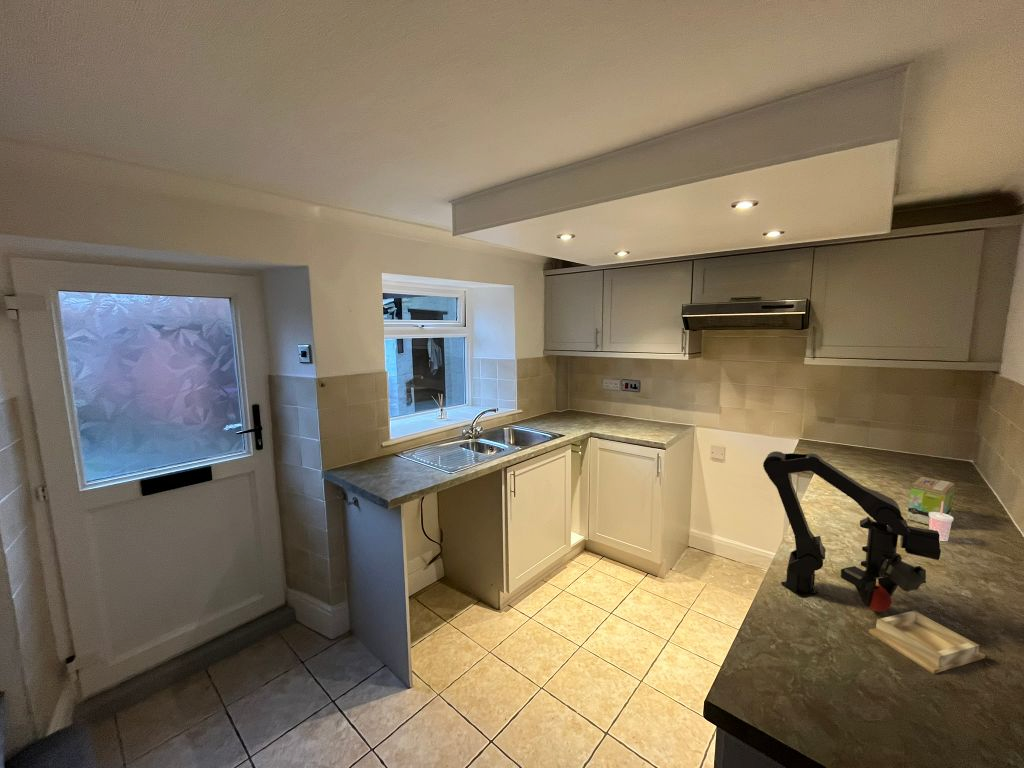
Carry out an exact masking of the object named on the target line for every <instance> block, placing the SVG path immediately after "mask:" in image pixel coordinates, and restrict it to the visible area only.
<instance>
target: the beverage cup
mask: <svg viewBox="0 0 1024 768" xmlns="http://www.w3.org/2000/svg"><path fill="white" fill-rule="evenodd" d="M943 503H944V502H943V501H942V503H941V511H940V513H939V512H929V516H930V519H929V526H928V527H929V529H930V530H936V531H938V532H939V534H940V536H939V541H949V538H950V537H949V536H950V534H951V533H950V531H951V527H952V522H954V516H952V515H951V516H950V515H947V514H944V513H942V511H943Z"/></svg>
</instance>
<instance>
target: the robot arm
mask: <svg viewBox="0 0 1024 768" xmlns="http://www.w3.org/2000/svg"><path fill="white" fill-rule="evenodd" d="M762 466H763V467H762V468H763V469H764V472H765V474H766V475H767V477H768V478H769V480H770V481H771V483H772V484H773V485H774V486H775V488H776V489H777V491H778V492H777V493H778V495H779V498H780V502H781V503H782V505H783V508H784V512H785V514H786V516H787V519H788V522H789V524H790V528H791V530H792V533H793V535H794V542H795V550H793V551H790V555H789V559H788V563H787V567H786V568H787V569H786V579H785V581H781V585H782V586H783V587H784V588H786V589H788V590H789V591H791V592H792V593H793V594H795V595H797V596H799V597H800V598H801V597H807V596H812V595H815V594H819V590H817V589H816V588H814V587H815V579H816V574H815V573H816V571H820V570H821V569H822V568H823V566H824V560H826V548H825V546H824V544H823V542H822V537H821V535H817V536H815V535H814V533H812V531H811V529H810V527H809V524H808V521H807V519H806V517H805V516H806V515H805V513H804V511H803V508H802V506H801V502H800V501H799V497H798V495H797V492H796V489H795V487H794V484H793V479H792V478H793V477H792V474H795V473H802V472H812V473H813V474H815V475H817V476H818V477H819V478H821V479H823V480H824V481H825V482H827V483H828V484H830V485H831V486H833V487H834V488H835V489H837V490H839V491H840V492H842V493H843V494H844V495H846V496H847V497H849V498H850V499H852V500H854V502H855V503H857V504H858V506H859V507H861V509H862V510H863V511H864V512H865V513H866V514H867V515H868V516H867V517H866V518H864V519H861V520H859V526H860V528H862V529H866V530H867V529H868V531H867V539H866V542H867V543H866V545H865V546H862V548H861V551H863V552H865V559H864V560H863V561H860V566H862V567H863V568H865V569H864V570H863V569H861V568H859V567H857V566H856V565H853V566H849V567H844V568H841V569H840V578H841V579H842V580H844V581H846V582H848V583H850V584H852V585H854V586H855V588H856V591H857V592H858V593H857V594H858V595H859V597H860V598H861V601H862V604H863V605H864V606H866V608H870V604H871V600H872V596H873V592H874V590H877V589H880V587H878V586H876V582H878V583H879V584H880V585H881V586H882V587H883V588H884V589H885V590H886V591H887V592H888V593H889V595H890V597H892V596H893V594H894V592H895V591H896V590H897V588H898V587H899V589H901V590H902V591H904V592H906V593H907V592H911V591H917V590H918V589H919V588H920V586H921V585H923V584H926V583H927V572H926V570H927V569H925V568H924V567H922V566H921V565H918V566H917V565H916V566H914V565H912V564H909V563H906V562H905V561H902V560H903V557H902V555H901V554H900V553H897V549H898V539H899V536H900V539H899V541H900V542H899V544H900V549H904V552H905V553H906V554H908V555H913V556H917V557H921V558H926V559H931V560H933V561H934V560H935V561H939V560H940V558H941V550H942V549H941V547H940V546H941V543H940V541H939V536H940V534H939V532H938V531H936V530H930V529H927V528H921V527H917V526H911V525H909V524H908V522H907V519H905V518H904V517H903V516H902V511H901V508H900V506H899V504H898V503H897V501H896V500H895V499H894V498H892V497H890V496H888V495H886V494H883V493H882V492H879V491H876V490H873V489H870V488H868V487H866V486H864V485H863V484H861V483H859V482H858V481H857V480H855V479H853V478H852V477H850V476H849V475H847V474H846V473H844V472H843V471H841V470H839V469H838V468H836V467H835V466H833V465H832V464H830V463H829V462H828V461H826V460H824V459H822V457H821V456H819V455H818V454H817V453H812V452H811V453H794V452H793V453H784V452H782V451H772V452H770V453H769V454H767V456H766V458H765V459H764V461H763V463H762Z"/></svg>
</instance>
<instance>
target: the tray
mask: <svg viewBox="0 0 1024 768" xmlns="http://www.w3.org/2000/svg"><path fill="white" fill-rule="evenodd" d="M868 633H869V634H870V635H872V636H873V637H875V638H876V639H878V640H879V641H880V642H883V643H884V644H885V645H887V646H889V647H891V648H892V649H894V650H895V651H897V652H899V653H900V654H901V655H902V656H905V657H906V658H908V659H909V660H911V661H913V662H914V663H916V664H917V665H919V666H921V667H922V668H924V669H925V670H927V671H928V672H930V673H932V674H933V675H934V674H938V673H940V672H944V671H948V670H951V669H954V668H957V667H960V666H963V665H967V664H970V663H974V662H977V661H981V660H983V659H985V658H986V654H984V653H982V652H980V651H979V649H980V645H979V644H977V643H976V642H974V641H972V640H970V639H968V638H967V637H964V636H963V635H961V634H959V633H957V632H956V631H954V630H952V629H950V628H948V627H946V626H944V625H942V624H940V623H938V622H936V621H934V620H932V619H931V618H929V617H927V616H925V615H923V614H921V613H920V612H918V611H916V610H911V611H907V612H903V613H898V614H895V615H890V616H886V617H881V618H878V619H876V626H875V627H874V628H870V629H868Z"/></svg>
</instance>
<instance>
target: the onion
mask: <svg viewBox="0 0 1024 768" xmlns="http://www.w3.org/2000/svg"><path fill="white" fill-rule="evenodd" d="M876 586H878V587H880V589H877V590H874V592H873V596H872V600H871V604H870V607H869V608H870V609H871V611H873V612H874V613H875V612H876V613H879V612H881V613H882V612H885V611H888V610H889V609H890V608H891V604H892V598H891V597H892V596H891V597H890V595H889V593H888V592H887V591H886V590H885V589H884V588H883V587H882V586H881V585H880V584H879V582H878V581H876Z"/></svg>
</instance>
